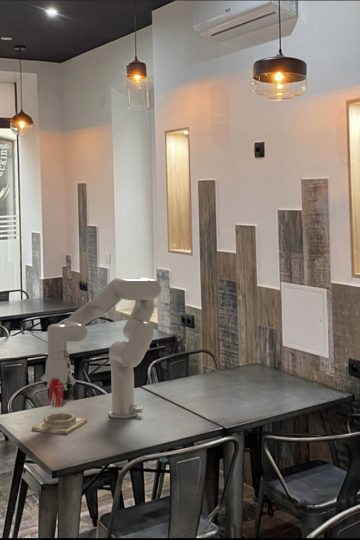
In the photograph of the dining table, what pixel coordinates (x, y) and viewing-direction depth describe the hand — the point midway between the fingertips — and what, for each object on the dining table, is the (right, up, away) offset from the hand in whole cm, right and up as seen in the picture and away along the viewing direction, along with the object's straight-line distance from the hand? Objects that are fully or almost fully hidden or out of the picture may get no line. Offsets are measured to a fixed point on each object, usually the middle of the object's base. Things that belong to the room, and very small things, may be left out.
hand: (58, 398), depth 265 cm
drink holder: (0, -12, +1) cm, 12 cm away
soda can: (0, -3, 0) cm, 3 cm away
